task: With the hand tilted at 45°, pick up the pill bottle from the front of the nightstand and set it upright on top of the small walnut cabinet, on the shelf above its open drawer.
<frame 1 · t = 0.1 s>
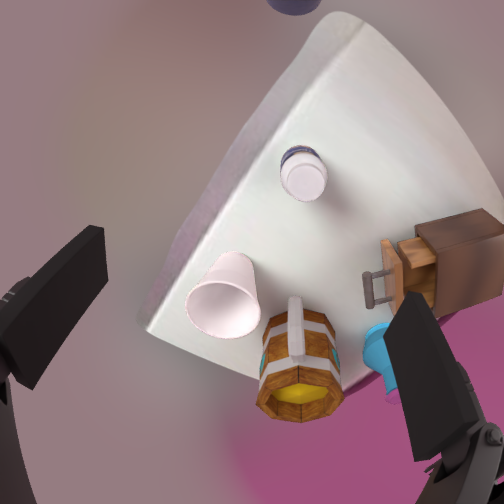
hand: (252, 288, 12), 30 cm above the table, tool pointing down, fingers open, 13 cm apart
pill bottle: (300, 163, 39), on the table
cup: (234, 266, 48), on the table
mug: (297, 322, 52), on the table
drawer: (414, 275, 40), point 4 cm above the table, slide at 5.0 cm
perfume bottle: (381, 334, 52), on the table
cabinet: (450, 247, 42), on the table
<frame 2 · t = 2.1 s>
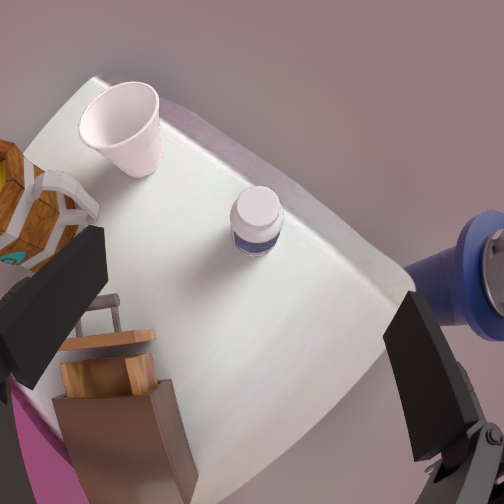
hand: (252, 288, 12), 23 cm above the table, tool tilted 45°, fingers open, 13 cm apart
pill bottle: (254, 236, 37), on the table
cup: (143, 160, 39), on the table
mug: (59, 227, 36), on the table
drawer: (109, 372, 28), point 4 cm above the table, slide at 5.0 cm
cabinet: (140, 433, 30), on the table
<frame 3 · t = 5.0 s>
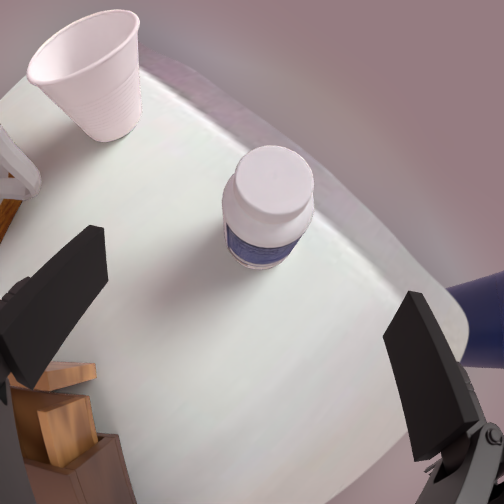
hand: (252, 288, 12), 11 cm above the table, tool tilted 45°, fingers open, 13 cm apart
pill bottle: (259, 237, 24), on the table
cup: (115, 121, 26), on the table
mug: (1, 203, 23), on the table
drawer: (28, 416, 15), point 4 cm above the table, slide at 5.0 cm
cabinet: (79, 491, 17), on the table
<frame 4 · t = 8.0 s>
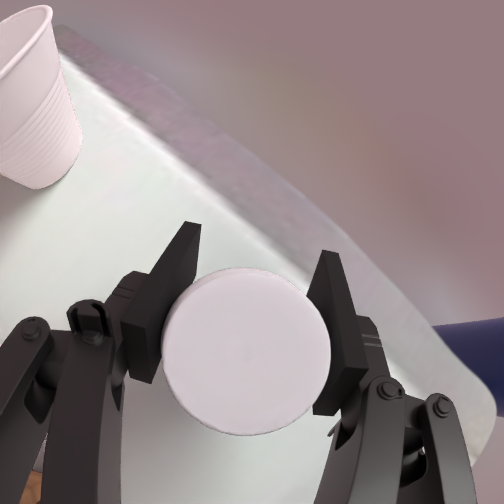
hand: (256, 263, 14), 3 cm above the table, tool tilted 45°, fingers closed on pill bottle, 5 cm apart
pill bottle: (238, 341, 16), on the table, touching gripper
cup: (52, 156, 18), on the table
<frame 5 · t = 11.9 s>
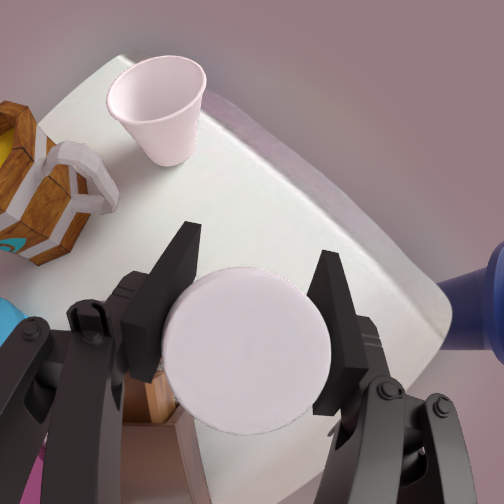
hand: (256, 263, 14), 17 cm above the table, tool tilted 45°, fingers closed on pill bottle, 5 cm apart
pill bottle: (238, 340, 16), point 14 cm above the table, touching gripper
cup: (172, 148, 35), on the table
mug: (67, 214, 32), on the table
drawer: (119, 391, 23), point 4 cm above the table, slide at 5.0 cm
perfume bottle: (19, 338, 27), on the table
cabinet: (148, 458, 25), on the table
when the fingers open (12 cm above the table, at t = 15.9 s): pill bottle stays where it is, resting on cabinet.
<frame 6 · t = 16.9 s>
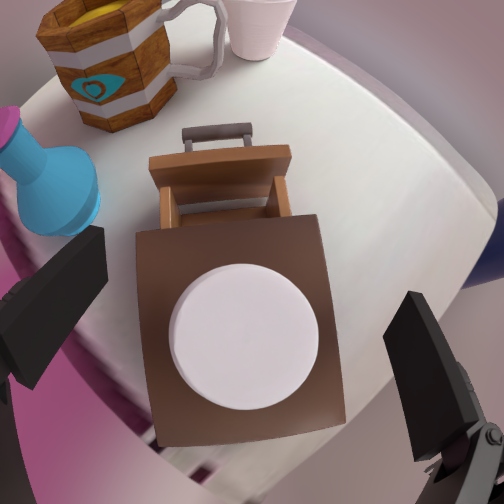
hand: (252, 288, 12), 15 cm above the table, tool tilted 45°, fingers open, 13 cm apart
pill bottle: (238, 334, 17), point 9 cm above the table, touching cabinet
cup: (253, 50, 35), on the table
mug: (149, 92, 32), on the table
drawer: (224, 217, 23), point 4 cm above the table, slide at 5.0 cm
perfume bottle: (74, 206, 28), on the table
cabinet: (236, 332, 26), on the table
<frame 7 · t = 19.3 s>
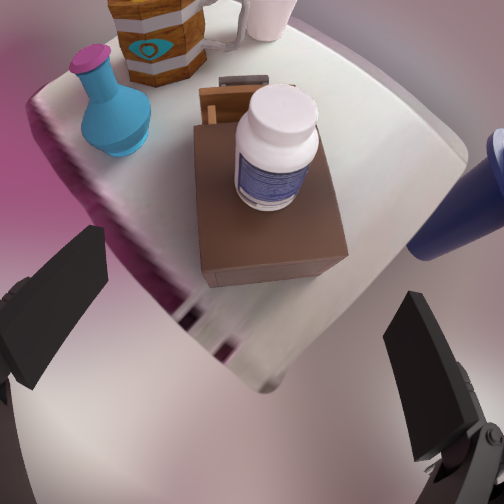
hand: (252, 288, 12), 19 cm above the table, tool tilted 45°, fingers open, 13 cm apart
pill bottle: (266, 184, 25), point 9 cm above the table, touching cabinet
cup: (264, 34, 43), on the table
mug: (184, 60, 40), on the table
drawer: (250, 131, 31), point 4 cm above the table, slide at 5.0 cm
perfume bottle: (125, 137, 35), on the table
cabinet: (257, 220, 33), on the table
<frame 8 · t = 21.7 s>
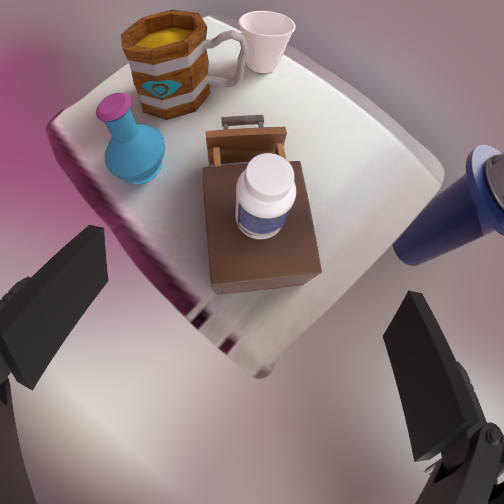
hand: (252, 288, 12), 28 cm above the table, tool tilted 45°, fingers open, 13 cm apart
pill bottle: (259, 217, 33), point 9 cm above the table, touching cabinet
cup: (261, 65, 51), on the table
mug: (190, 93, 48), on the table
drawer: (248, 167, 39), point 4 cm above the table, slide at 5.0 cm
perfume bottle: (141, 166, 44), on the table
cabinet: (254, 240, 41), on the table
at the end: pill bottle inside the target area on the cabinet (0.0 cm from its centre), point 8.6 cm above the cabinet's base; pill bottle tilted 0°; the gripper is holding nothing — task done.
